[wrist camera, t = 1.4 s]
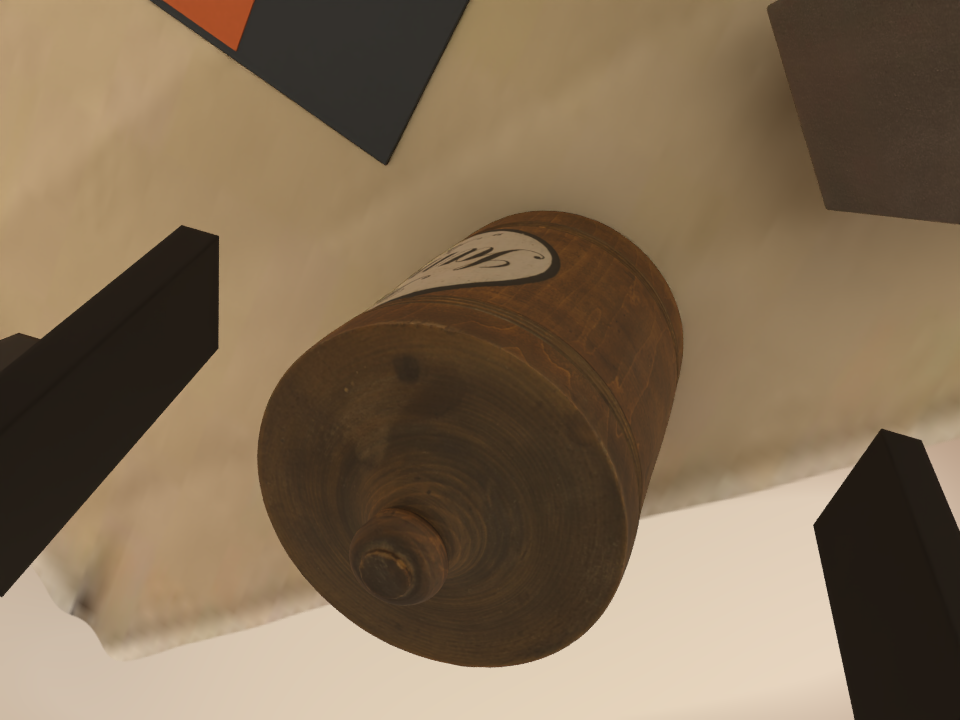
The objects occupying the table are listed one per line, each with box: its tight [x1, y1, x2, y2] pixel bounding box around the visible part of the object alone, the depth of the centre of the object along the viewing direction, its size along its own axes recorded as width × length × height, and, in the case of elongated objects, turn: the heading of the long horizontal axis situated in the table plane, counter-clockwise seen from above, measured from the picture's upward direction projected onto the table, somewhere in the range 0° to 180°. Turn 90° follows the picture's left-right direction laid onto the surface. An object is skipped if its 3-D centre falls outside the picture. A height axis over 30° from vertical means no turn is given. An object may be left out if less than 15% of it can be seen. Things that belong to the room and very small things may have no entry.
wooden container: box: [257, 211, 683, 667], centre depth 34 cm, size 15×15×22 cm
